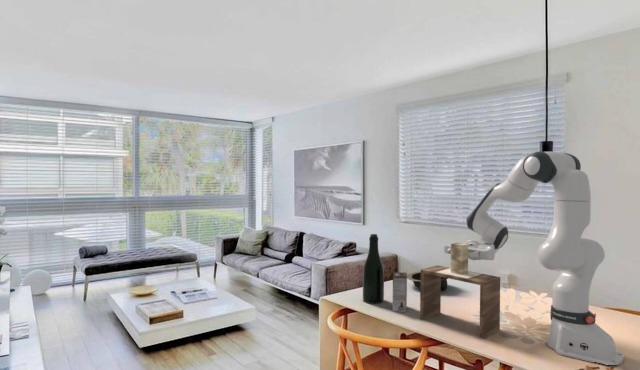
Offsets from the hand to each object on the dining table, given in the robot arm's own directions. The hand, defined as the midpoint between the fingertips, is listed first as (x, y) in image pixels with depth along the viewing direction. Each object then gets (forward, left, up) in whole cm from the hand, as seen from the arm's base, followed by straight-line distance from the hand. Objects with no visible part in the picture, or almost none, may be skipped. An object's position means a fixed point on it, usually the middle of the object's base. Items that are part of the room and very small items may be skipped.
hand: (458, 253), depth 164 cm
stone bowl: (+40, -40, -30) cm, 64 cm away
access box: (0, -1, -29) cm, 30 cm away
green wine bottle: (+44, +2, -30) cm, 53 cm away
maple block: (0, -1, -8) cm, 8 cm away
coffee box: (+28, +2, -30) cm, 41 cm away
